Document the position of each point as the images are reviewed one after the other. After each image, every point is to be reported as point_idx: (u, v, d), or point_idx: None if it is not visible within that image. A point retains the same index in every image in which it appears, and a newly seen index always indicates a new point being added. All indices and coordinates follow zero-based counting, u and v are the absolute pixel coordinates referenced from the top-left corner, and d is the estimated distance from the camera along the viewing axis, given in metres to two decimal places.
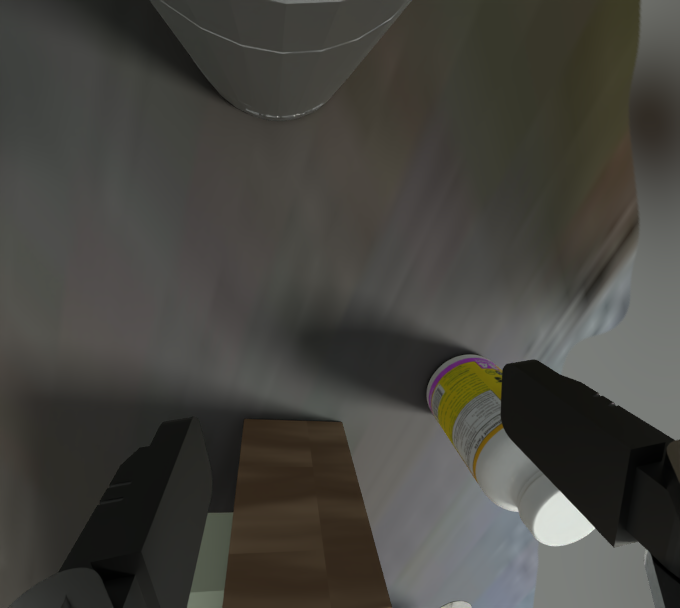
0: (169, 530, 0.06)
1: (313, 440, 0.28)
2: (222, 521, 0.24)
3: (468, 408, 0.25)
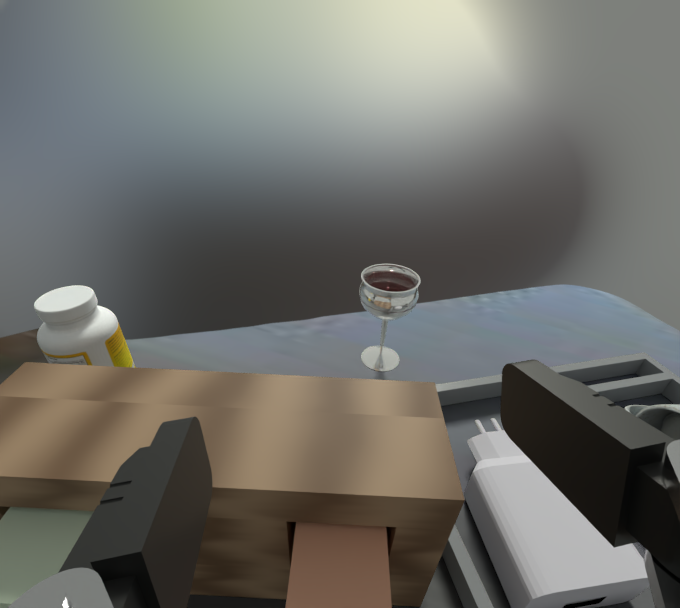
0: (169, 530, 0.06)
1: None
2: None
3: None
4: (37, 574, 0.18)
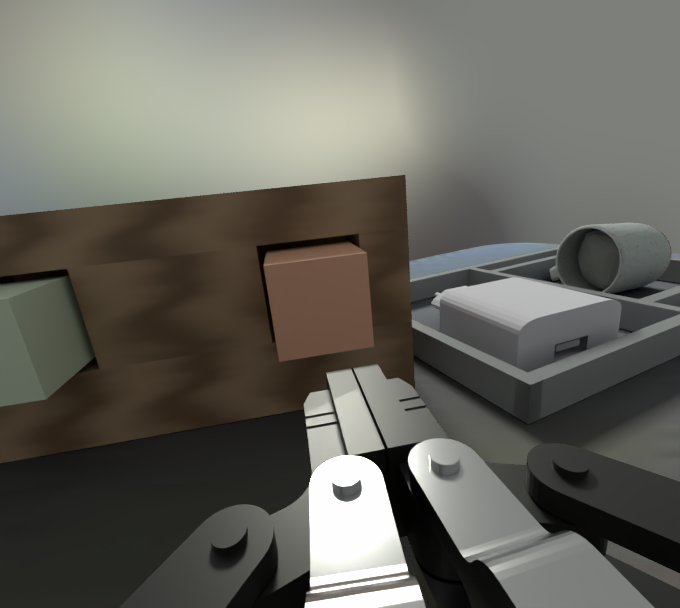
0: None
1: None
2: None
3: None
4: None
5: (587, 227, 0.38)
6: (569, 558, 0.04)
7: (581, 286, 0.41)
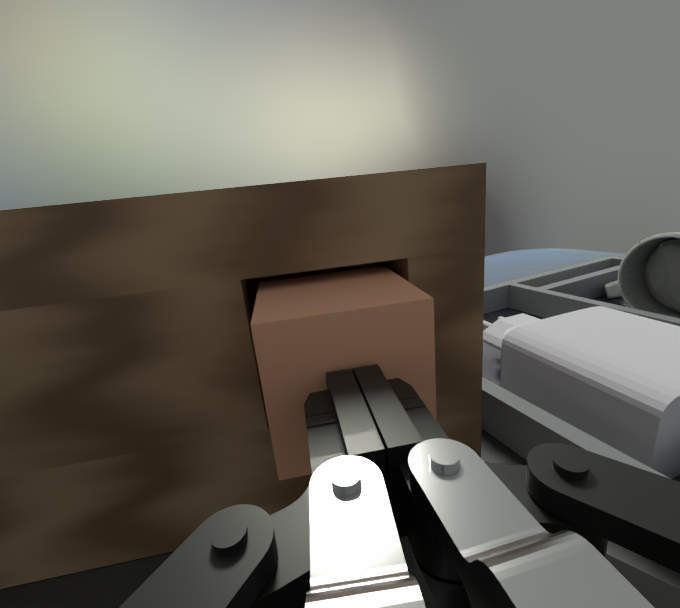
0: None
1: None
2: None
3: None
4: None
5: (666, 236, 0.30)
6: (569, 558, 0.04)
7: (650, 308, 0.34)
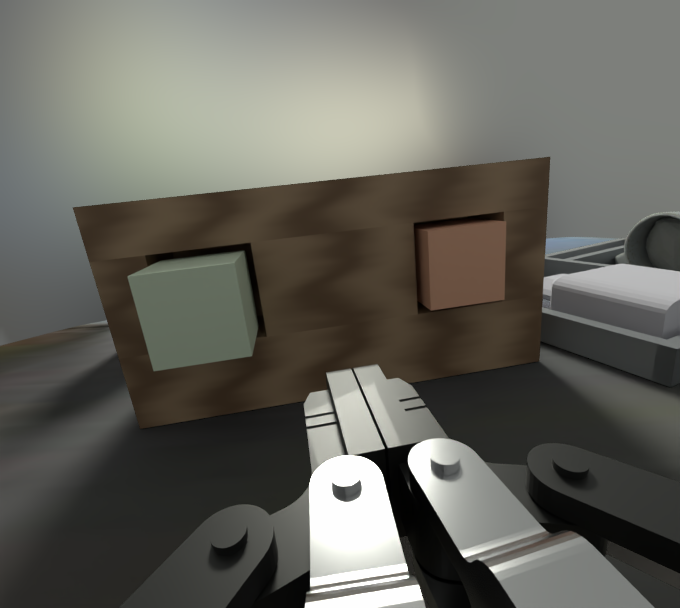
0: None
1: None
2: None
3: None
4: (212, 262, 0.19)
5: (660, 214, 0.40)
6: (569, 558, 0.04)
7: None
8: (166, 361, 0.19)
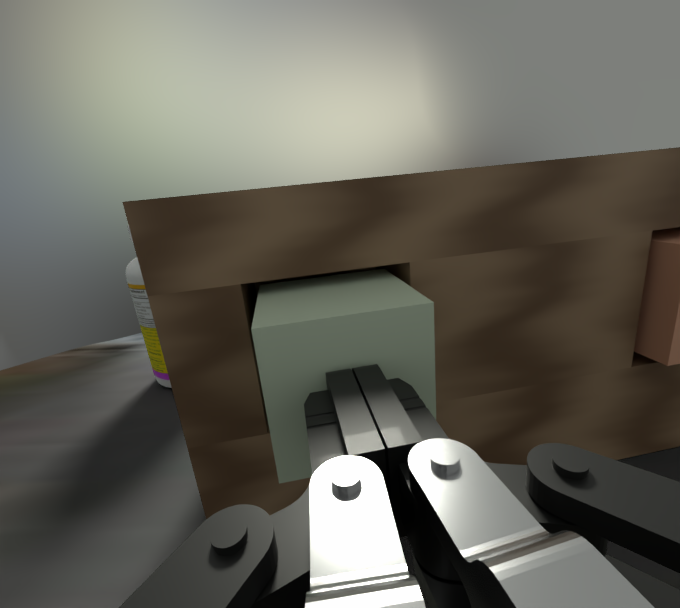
0: None
1: None
2: None
3: (150, 322, 0.27)
4: (378, 297, 0.11)
5: None
6: (569, 558, 0.04)
7: None
8: (301, 467, 0.11)
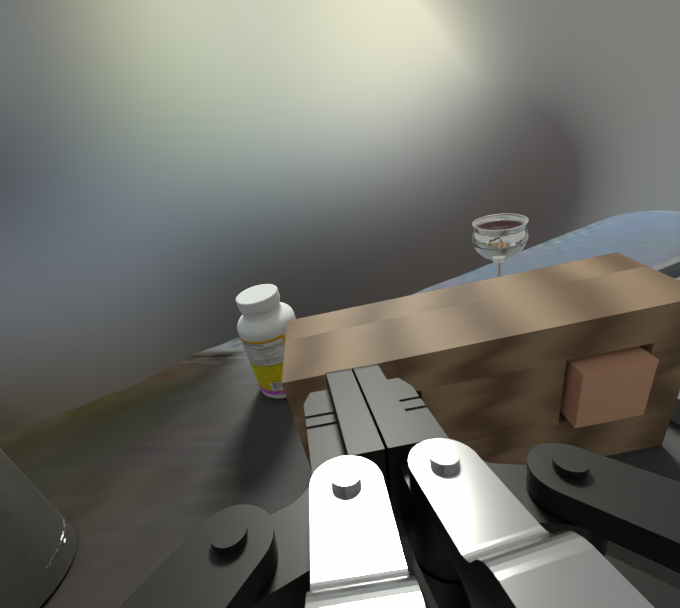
0: None
1: None
2: None
3: (258, 362, 0.41)
4: None
5: None
6: (569, 558, 0.04)
7: None
8: None
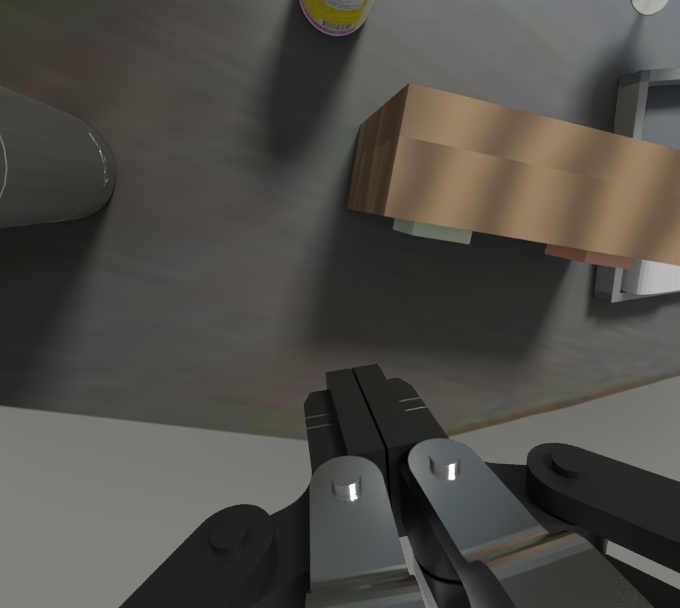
0: None
1: (360, 151, 0.34)
2: None
3: None
4: None
5: None
6: (569, 558, 0.04)
7: None
8: None
